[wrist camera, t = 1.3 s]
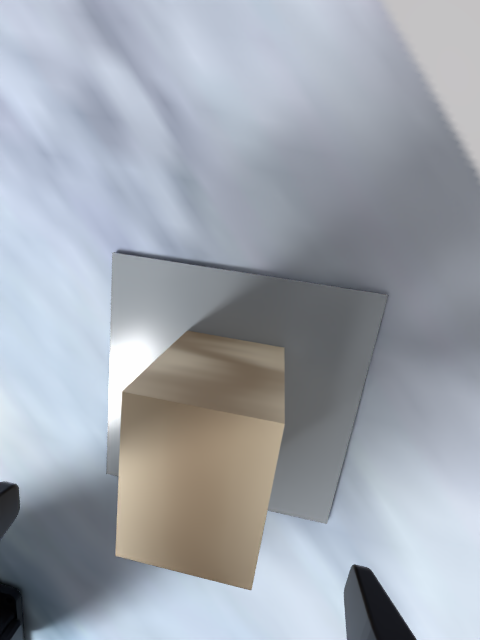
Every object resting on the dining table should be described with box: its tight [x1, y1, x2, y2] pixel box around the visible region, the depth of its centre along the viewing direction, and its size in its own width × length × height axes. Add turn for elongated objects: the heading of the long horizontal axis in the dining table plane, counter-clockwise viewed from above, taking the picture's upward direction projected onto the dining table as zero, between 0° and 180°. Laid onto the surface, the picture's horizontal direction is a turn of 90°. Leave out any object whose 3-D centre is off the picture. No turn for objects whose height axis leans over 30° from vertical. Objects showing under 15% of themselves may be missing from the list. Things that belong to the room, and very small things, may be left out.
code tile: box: [106, 252, 388, 524], centre depth 15 cm, size 12×12×1 cm
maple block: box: [115, 331, 285, 590], centre depth 12 cm, size 4×6×6 cm
